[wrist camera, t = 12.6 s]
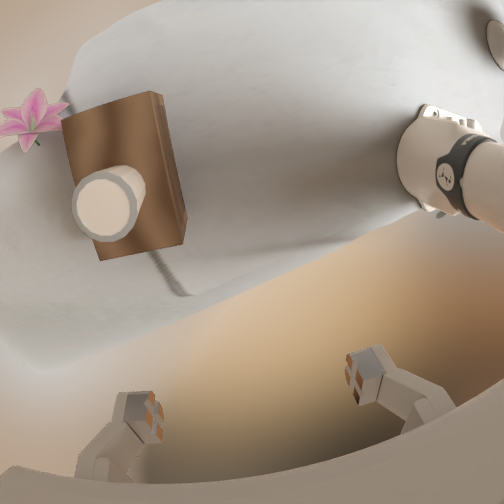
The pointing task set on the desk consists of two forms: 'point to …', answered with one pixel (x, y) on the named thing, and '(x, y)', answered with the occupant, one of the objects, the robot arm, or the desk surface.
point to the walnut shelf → (133, 155)
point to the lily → (32, 119)
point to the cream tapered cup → (108, 202)
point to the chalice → (496, 41)
